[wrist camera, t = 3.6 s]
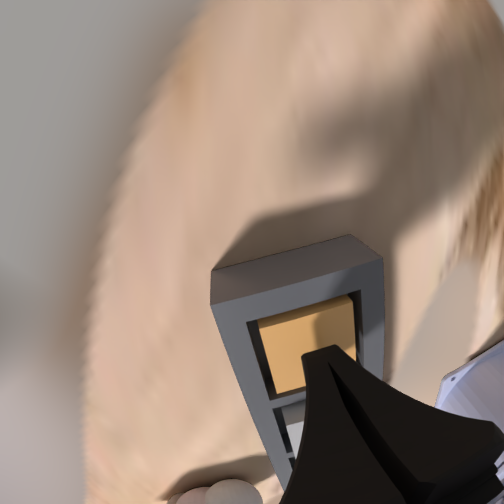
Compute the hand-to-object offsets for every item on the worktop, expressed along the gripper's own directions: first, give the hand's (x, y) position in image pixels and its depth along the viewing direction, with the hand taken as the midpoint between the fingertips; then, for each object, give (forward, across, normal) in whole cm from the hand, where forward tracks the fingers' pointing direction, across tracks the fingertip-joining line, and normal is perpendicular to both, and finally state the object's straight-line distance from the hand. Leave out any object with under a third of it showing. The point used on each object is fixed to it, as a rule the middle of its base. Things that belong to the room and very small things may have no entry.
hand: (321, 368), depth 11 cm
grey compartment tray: (+4, 0, +5) cm, 6 cm away
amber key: (+2, 0, 0) cm, 2 cm away
